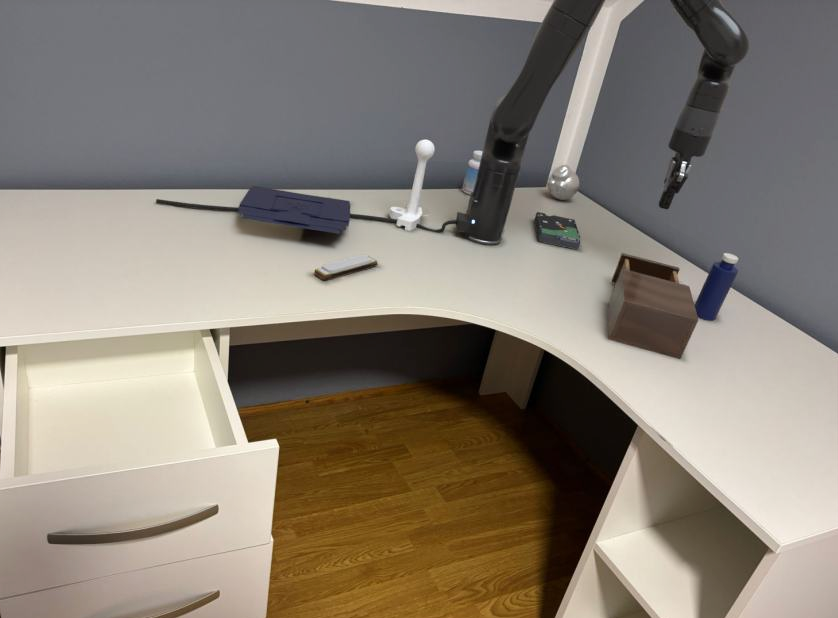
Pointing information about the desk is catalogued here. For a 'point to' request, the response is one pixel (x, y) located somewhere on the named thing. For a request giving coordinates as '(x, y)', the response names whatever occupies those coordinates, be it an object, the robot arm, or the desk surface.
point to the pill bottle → (472, 172)
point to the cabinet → (651, 313)
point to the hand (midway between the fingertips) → (663, 207)
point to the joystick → (414, 189)
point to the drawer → (646, 268)
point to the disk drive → (557, 230)
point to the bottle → (716, 287)
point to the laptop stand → (295, 209)
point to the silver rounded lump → (563, 183)
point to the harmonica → (345, 267)
